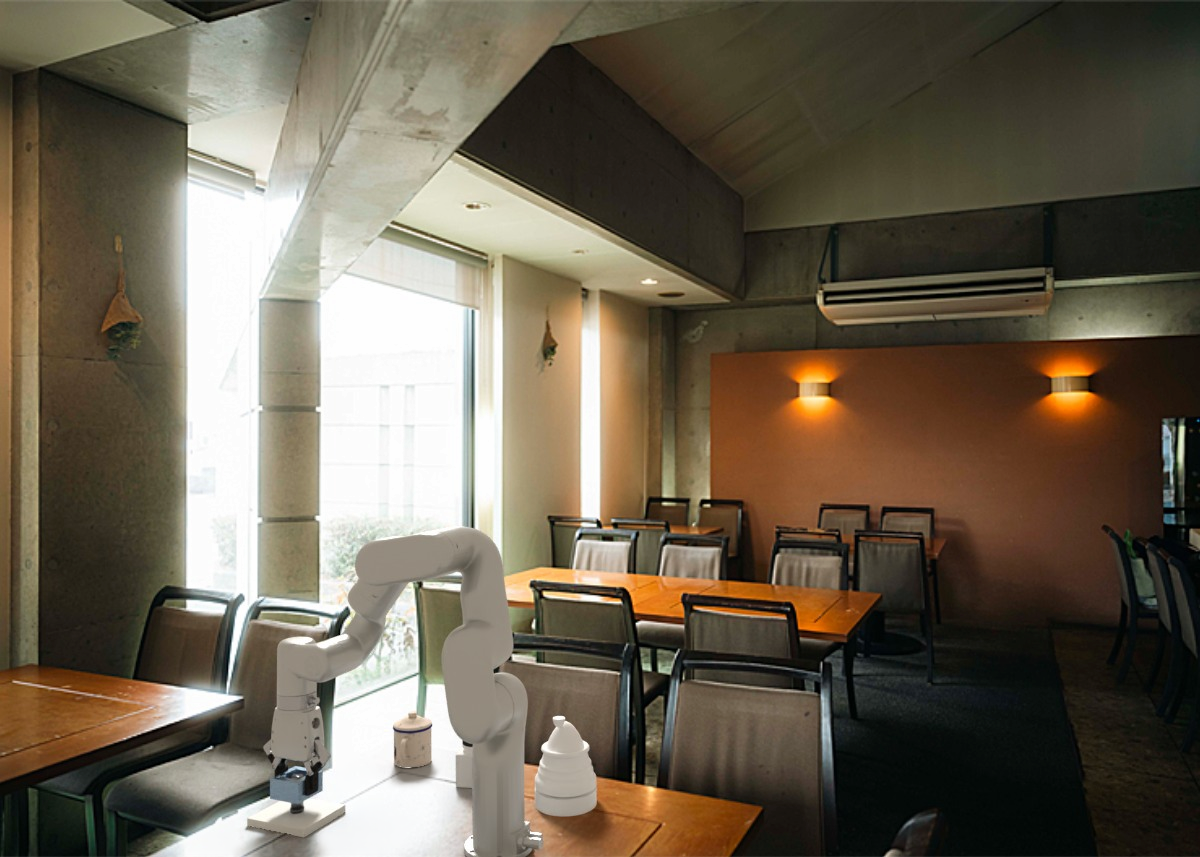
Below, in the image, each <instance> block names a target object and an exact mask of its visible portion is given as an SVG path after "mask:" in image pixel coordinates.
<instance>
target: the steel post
mask: <svg viewBox="0 0 1200 857" xmlns="http://www.w3.org/2000/svg"><path fill="white" fill-rule="evenodd" d="M301 778H303V774H294V775H292V776H291V779H294V780H299V779H301ZM303 811H304V801H303V802H301V803H299V804H294V803H291V808H290V812H291V813H292V814H299V813H302V812H303Z"/></svg>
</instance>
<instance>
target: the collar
mask: <svg viewBox="0 0 1200 857" xmlns="http://www.w3.org/2000/svg"><path fill="white" fill-rule="evenodd" d="M294 774H303V778H301V779H299V780H294V779H291V776H292V775H294ZM306 775H308V773H307V771H306V768H305V766H304V767H302V766H296V765H295V766H293V767H291V768H288V770H286V771H284V772H282V773H280V774H278V775H276V776H275V775H274V776H272V777H270V778H269V799H270V800H274V801H275V800H276V801H278V802H279V801H284V802H289V803H294V804H299V803H301V802H303V801H305V800H307V799H308V798H310V799H311V798H312V797H314V796H315V795H316V796H317V794H319V793H321V792H323V791H324V790H323V786H324V785H323V784H324V783H323V782H324V781H323V778H324V777H323V775H324V774H323V770H321V771H319V789H318V791H317V792H315V793H313V794H311V795H310V796H306V795H305V776H306Z"/></svg>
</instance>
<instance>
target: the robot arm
mask: <svg viewBox="0 0 1200 857" xmlns="http://www.w3.org/2000/svg"><path fill="white" fill-rule="evenodd" d="M354 569H355V573H356V576H357V577H358V579H357V580H356V581H355V582H354V584H353V586H352V587H351V588H350V590H349V592H348V593H347V601H348V604H349V606H350V608H351V609H352V610H353V611H354V612H355V614H354V615H353V617H352V619H351V620H350V622H349V623H348V625H347V626H346V628H345V629H344V630H343V632H341V634H340V635H337V636H334V637H330V638H327V639H325V640H322V641H318V642H316V640H315V639H314V638H312V637H310V636H292V637H288V638H284V639H282V640H281V641H280V642H279V643H278V645H277V649H276V707H275V708H274V712H273V717H272V724H271V735H270V736H271V738H270V739H269V740H268V741H267V742H266V743H265V744H264V745H263V746H262V747H263V751H264V752H265V753H266V756H267V758H268V759H267V760H269V762H270V763H271V768H272V769H273V770H274V776H276V775H278V774H280V773H282V772H284V771H286V770H288V769H289V765H288V764H287V762H288V760H290V761H294V762H295V761H297V762H301V763H302V762H303V765H304V768H306V771H307V773H308V775H306V776H305V795H306V796H310V795H311V794H313V793H315V792H317V791H318V789H319V771H323V770H322V769H323V768H324V767H325V766H326V764H327V763H328V762H329V760H330V759H331V757H332V754H331V753H330V752H329V751H328V749H327V748H326V747H325V731H324V721H323V714H322V711H321V710H322V709H321V707H320V706H319V703H320V702H321V699H320V697H317V696H318V695H317V694H318V693H317V691H318V690H317V688H318V687H317V686H318V684H317V683H325V682H328V681H330V680H333V679H335V678H337V677H339V676H342V675H344V674H347V673H350V672H351V671H353V670H356V669H357V668H359V667H360V666H361V665H362V664H363V663H364V662H365V661H366V659H367V658H368V657H369V656H370V654H371V653H372V651H374V649H375V647H376V645H378V643H379V641H380V639H381V638H382V635H383V633H384V630H385V626H386V622H387V621H386V617H387V615H388V613H389V612H390V610H391V609H392V607H393V606H394V604H395V603H396V601H397V600H398V599H399V597H400V596H401V594H402V593H403V592H404V590H405V589H406V587H407V586H408V585H409V584H410V583H415V582H421V581H423V582H424V581H428V580H434V579H439V578H442V577H445V576H448V575H451V574H455V573H460V574H461V584H460V591H459V596H460V597H459V598H460V599H459V600H460V605H461V606H460V607H461V612H462V624H461V625H459V626H458V627H456V628H455V629H454V628H453V630H452V631H450V633H448V636H446V638H445V641H444V642H443V646H442V649H441V669H442V677H443V683H444V692H445V698H446V706H447V713H448V719H449V722H450V724H451V727H452V730H453V731H454V733H455V735H456V736H457V737H458V738H459V739H460V740H463V741H465V742H467V743H470V744H473V748H472V788H471V790H472V791H471V792H472V795H471V796H472V797H471V800H472V801H471V804H472V805H471V807H472V808H471V810H472V811H471V812H472V813H471V814H472V815H471V816H472V817H471V818H472V819H471V820H472V823H471V825H472V835H470V836H469V837H468V838H467V839H466V840H465V841H464V844H463V853H464V855H465V856H466V857H527V856H528V855H529V854H530V853H531V852H532V851H533V850H537V851H541V850H543V847H544V839H543V838H544V834H543V833H542V832H537V831H535V832H534V831H532V830H531V826H530V825H531V822H530V821H527V820H525V819H526V818H525V813H526V812H525V736H526V726H527V724H526V723H527V716H528V708H529V707H528V706H529V704H528V703H529V702H528V693H527V690H526V688H525V685H524V683H523V682H522V681H521V680H520V679H519V678H518V677H517V676H516V675H514V674H512V673H509V672H495V673H494V670H495V669H497V668H498V667H501V666H502V665H503V664H504V663H505V662H507V661H508V660H509V659H510V657H511V656H512V654H513V651H514V638H513V631H512V624H511V623H512V622H511V617H510V610H509V602H508V598H507V596H508V595H507V591H506V583H505V582H506V581H505V575H504V574H505V572H504V565H503V559H502V556H501V553H500V551H499V548H498V546H497V544H496V543H495V542H494V541H493V539H492V538H491V537H490V536H489V535H488V534H486V533H484V532H483V531H481V530H479V529H477V528H473V527H470V526H460V525H459V526H458V525H457V526H448V527H445V528H440V529H435V530H430V531H423V532H420V533H419V532H418V533H415V534H409V535H403V536H402V535H395V536H394V535H393V536H388V537H384V538H383V537H382V538H378V539H373V540H370V541H368V542H367V543H365V544H364V545H362V547H361V548H360V549H359V551H358V552H357V554H356V556H355V560H354ZM311 761H312V763H311Z"/></svg>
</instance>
